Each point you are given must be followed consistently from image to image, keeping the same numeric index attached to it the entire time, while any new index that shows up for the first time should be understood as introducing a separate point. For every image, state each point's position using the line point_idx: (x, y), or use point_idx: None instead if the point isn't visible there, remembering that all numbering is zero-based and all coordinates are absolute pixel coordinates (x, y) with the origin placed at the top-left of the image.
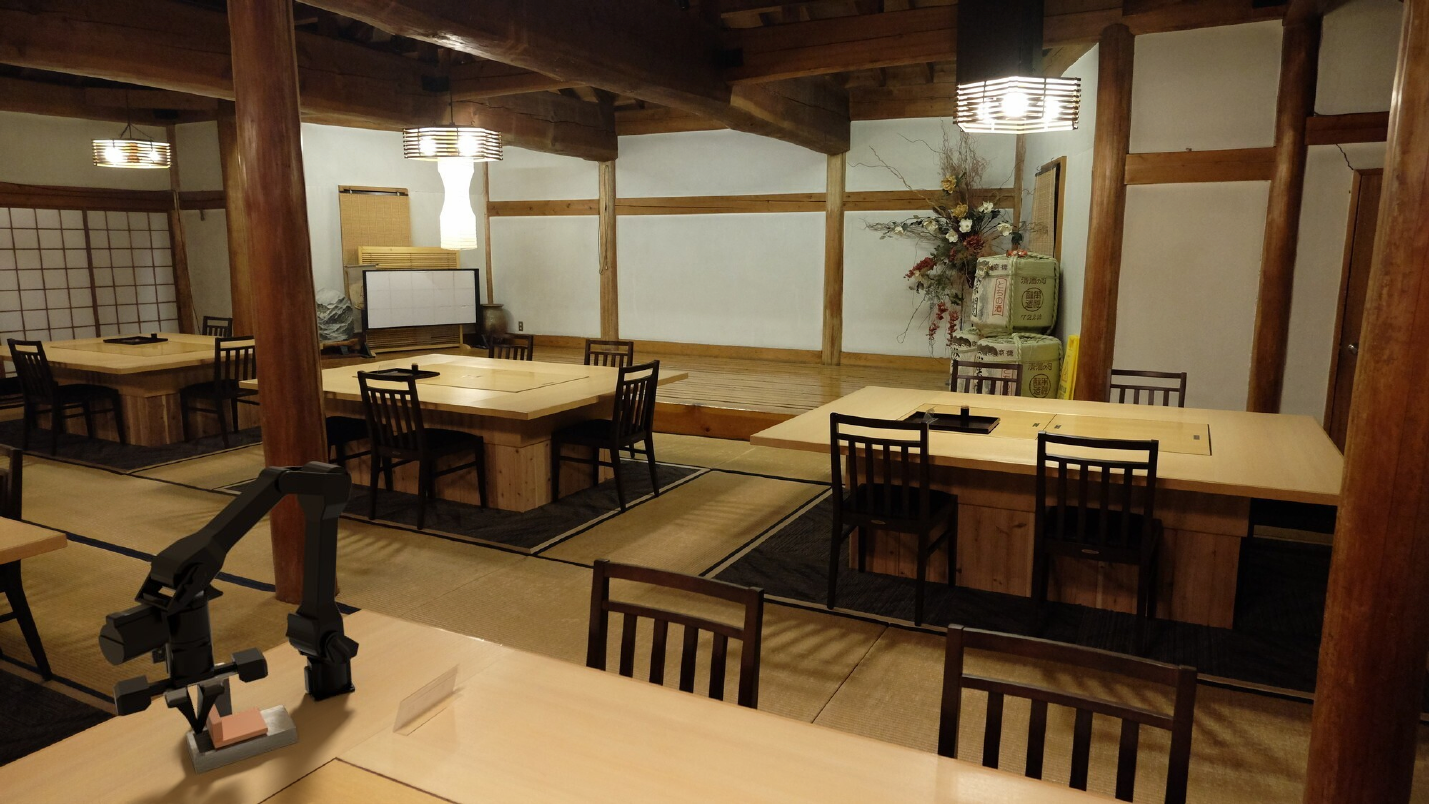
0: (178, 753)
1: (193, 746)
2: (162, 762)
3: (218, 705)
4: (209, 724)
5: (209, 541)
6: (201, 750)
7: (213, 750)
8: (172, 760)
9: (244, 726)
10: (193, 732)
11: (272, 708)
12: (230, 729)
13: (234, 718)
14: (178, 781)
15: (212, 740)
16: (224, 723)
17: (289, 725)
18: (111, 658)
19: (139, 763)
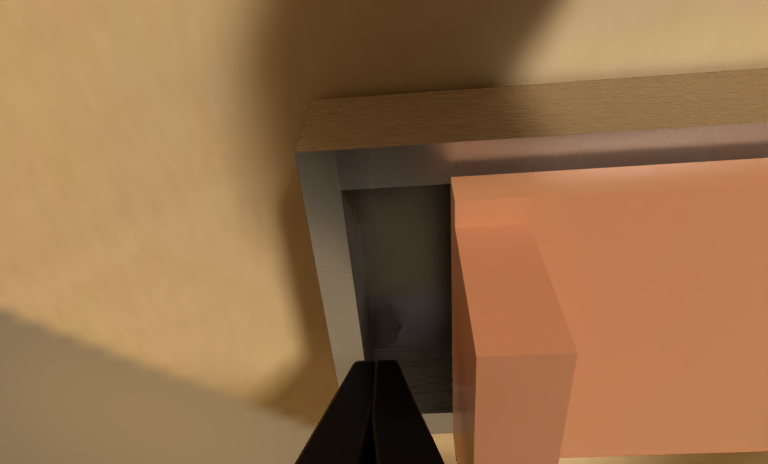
0: (259, 116)
1: (343, 342)
2: (178, 170)
3: None
4: (461, 395)
5: None
6: (389, 202)
7: (442, 418)
8: (232, 177)
9: (668, 390)
10: (348, 175)
11: None
12: (580, 379)
13: (663, 266)
14: (279, 358)
15: (453, 377)
16: (572, 293)
17: None
18: None
19: (36, 109)
